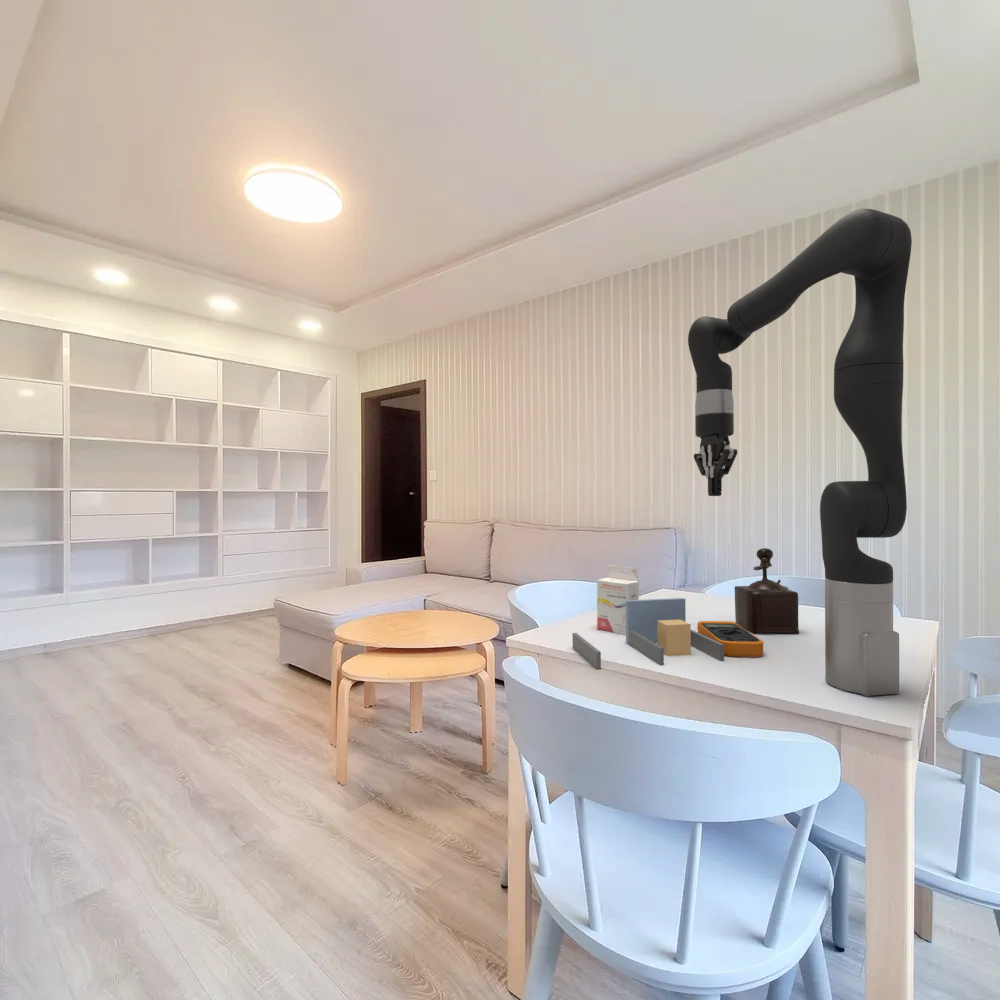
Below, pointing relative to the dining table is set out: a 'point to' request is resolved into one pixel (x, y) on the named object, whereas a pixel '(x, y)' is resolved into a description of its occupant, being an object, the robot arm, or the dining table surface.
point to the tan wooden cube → (674, 637)
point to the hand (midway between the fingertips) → (714, 495)
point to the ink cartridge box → (616, 598)
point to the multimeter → (732, 638)
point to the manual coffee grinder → (766, 603)
